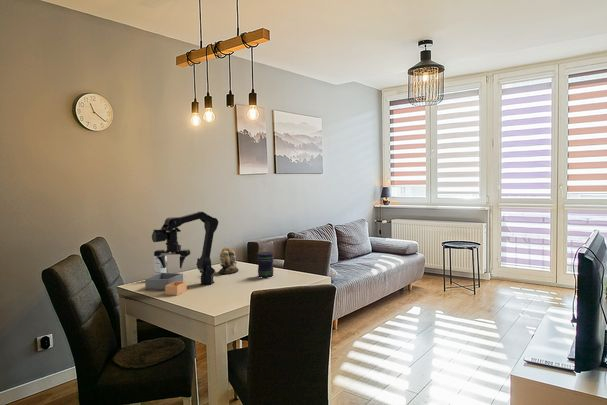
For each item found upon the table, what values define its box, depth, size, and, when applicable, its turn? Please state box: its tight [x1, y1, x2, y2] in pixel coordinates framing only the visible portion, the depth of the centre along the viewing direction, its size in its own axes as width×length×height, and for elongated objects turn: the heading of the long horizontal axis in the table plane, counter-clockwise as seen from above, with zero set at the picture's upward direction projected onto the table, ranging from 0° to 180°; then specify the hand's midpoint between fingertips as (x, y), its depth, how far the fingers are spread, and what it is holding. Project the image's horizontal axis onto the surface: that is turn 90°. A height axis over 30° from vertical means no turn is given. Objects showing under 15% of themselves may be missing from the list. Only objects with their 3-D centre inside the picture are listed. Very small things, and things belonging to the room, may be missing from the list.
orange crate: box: [164, 281, 188, 296], centre depth 224 cm, size 7×10×5 cm
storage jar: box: [257, 251, 274, 279], centre depth 260 cm, size 10×10×15 cm
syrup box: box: [153, 255, 169, 275], centre depth 256 cm, size 6×6×14 cm
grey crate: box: [144, 272, 184, 291], centre depth 238 cm, size 14×16×6 cm
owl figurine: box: [218, 246, 239, 275], centre depth 275 cm, size 18×12×17 cm, turn 166°
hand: (172, 268), depth 228 cm, fingers open, 9 cm apart
